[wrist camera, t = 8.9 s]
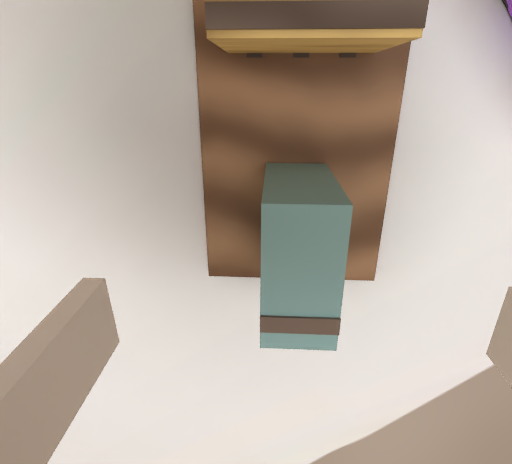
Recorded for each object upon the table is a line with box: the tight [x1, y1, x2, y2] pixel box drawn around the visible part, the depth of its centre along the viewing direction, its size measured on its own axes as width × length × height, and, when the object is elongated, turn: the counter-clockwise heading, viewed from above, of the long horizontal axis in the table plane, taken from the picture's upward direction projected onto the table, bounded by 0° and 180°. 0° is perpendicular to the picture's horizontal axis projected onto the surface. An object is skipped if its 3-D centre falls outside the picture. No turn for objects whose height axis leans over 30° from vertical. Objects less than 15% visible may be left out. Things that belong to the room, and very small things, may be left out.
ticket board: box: [193, 0, 429, 281], centre depth 25 cm, size 26×16×10 cm, turn 0°
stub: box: [260, 163, 353, 351], centre depth 26 cm, size 10×5×11 cm, turn 0°
